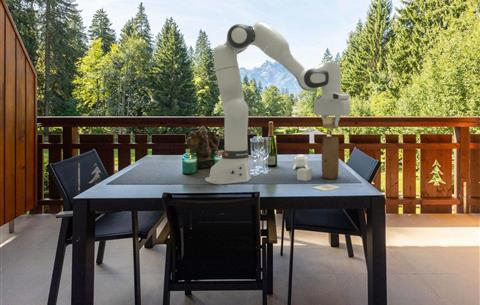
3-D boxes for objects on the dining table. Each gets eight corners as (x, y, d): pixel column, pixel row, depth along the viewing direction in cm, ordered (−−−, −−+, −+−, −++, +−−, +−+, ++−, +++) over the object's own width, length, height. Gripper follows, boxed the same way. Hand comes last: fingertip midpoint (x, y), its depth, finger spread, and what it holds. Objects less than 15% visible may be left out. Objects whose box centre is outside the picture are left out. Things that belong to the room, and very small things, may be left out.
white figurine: (292, 172, 214) (292, 167, 200) (293, 157, 216) (292, 151, 202) (308, 172, 213) (308, 167, 198) (308, 158, 215) (308, 151, 200)
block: (338, 179, 178) (339, 137, 176) (322, 179, 179) (323, 137, 176) (335, 175, 189) (336, 135, 186) (320, 175, 190) (321, 135, 187)
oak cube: (330, 128, 177) (331, 118, 177) (323, 128, 181) (323, 117, 181) (338, 128, 180) (338, 117, 179) (330, 127, 184) (330, 117, 184)
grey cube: (306, 181, 177) (306, 170, 176) (296, 179, 180) (297, 169, 179) (311, 179, 180) (311, 169, 180) (302, 178, 184) (302, 167, 183)
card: (324, 191, 156) (324, 190, 156) (312, 188, 162) (312, 187, 162) (340, 187, 162) (340, 186, 162) (328, 184, 167) (328, 184, 167)
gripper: (310, 96, 186) (310, 124, 187) (343, 95, 169) (342, 126, 171) (319, 96, 189) (319, 123, 191) (352, 95, 172) (351, 125, 174)
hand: (330, 124), depth 181 cm, fingers closed on oak cube, 5 cm apart
